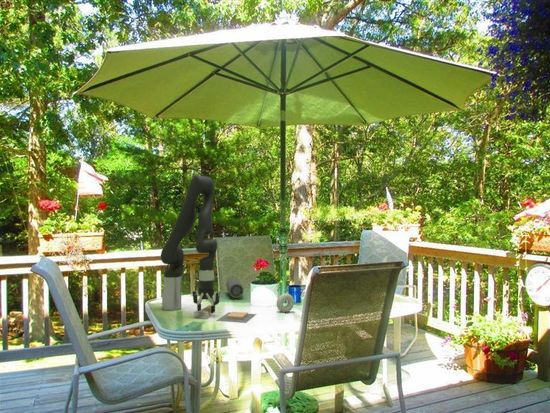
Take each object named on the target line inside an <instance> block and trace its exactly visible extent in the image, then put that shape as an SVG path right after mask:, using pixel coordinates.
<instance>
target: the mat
mask: <svg viewBox="0 0 550 413" xmlns="http://www.w3.org/2000/svg"><path fill="white" fill-rule="evenodd" d="M230 313H231V311H228V312H227V313H225V314H224V315H223V316H221V317H219V318H218V319H216V320H215V321H216V322H227V323H238V324H239V323H241V324H247V323H248V322H249V321H251V320H252V319H253V318H254V317H256V315H257V313H248V315H247V316H246V317H245V318H244V319H242V320H240V319H227V315H228V314H230Z"/></svg>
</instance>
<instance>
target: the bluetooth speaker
mask: <svg viewBox="0 0 550 413" xmlns="http://www.w3.org/2000/svg"><path fill="white" fill-rule="evenodd" d="M225 287H226V290H227V292H228V294H229V295H230V296H231V297H232V298H233V299H238V298H240V297H242V295H243V294H244V287H243V284H242V283H241V281H240V280H239V279H237V278H235V277H231V278H229V279H228V280H227V282H226V286H225Z"/></svg>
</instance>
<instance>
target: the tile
mask: <svg viewBox="0 0 550 413" xmlns="http://www.w3.org/2000/svg"><path fill="white" fill-rule="evenodd" d="M230 312H231V311H230ZM248 314H249V312H243V311H232V312H231V313H230V314H228V315H227V319H240V320H242V319H244V318H245V317H246V316H247V315H248Z"/></svg>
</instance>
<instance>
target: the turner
mask: <svg viewBox="0 0 550 413" xmlns="http://www.w3.org/2000/svg"><path fill="white" fill-rule="evenodd" d="M211 306H212V305H211V304H209V305H207V306H205V307H203V308H201V310H200V311H197V310H193V319H197V320H198V319H199V320H209V316H211V315H212V314H214V313H211Z"/></svg>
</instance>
